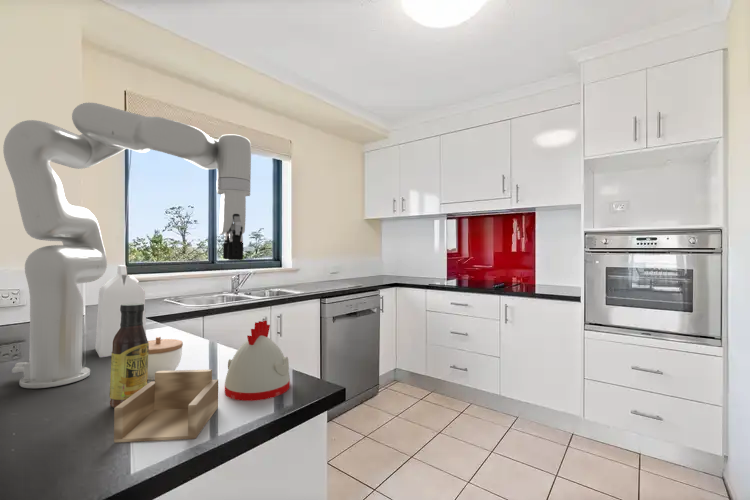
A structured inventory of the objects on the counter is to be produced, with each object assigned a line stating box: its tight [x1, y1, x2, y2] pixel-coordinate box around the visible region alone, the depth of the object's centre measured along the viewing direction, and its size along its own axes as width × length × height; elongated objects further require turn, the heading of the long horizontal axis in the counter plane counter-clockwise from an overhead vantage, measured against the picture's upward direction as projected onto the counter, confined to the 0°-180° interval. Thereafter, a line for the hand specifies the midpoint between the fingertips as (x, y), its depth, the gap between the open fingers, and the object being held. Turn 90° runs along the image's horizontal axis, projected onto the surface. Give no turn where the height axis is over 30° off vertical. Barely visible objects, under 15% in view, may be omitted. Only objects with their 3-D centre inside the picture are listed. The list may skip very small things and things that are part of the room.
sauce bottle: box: [109, 303, 149, 408], centre depth 74 cm, size 6×6×20 cm
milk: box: [94, 264, 147, 358], centre depth 114 cm, size 12×12×26 cm
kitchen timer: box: [224, 320, 291, 402], centre depth 83 cm, size 14×14×15 cm
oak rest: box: [113, 369, 219, 444], centre depth 66 cm, size 12×12×8 cm
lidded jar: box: [147, 336, 184, 381], centre depth 91 cm, size 11×11×9 cm
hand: (232, 259), depth 89 cm, fingers open, 9 cm apart
